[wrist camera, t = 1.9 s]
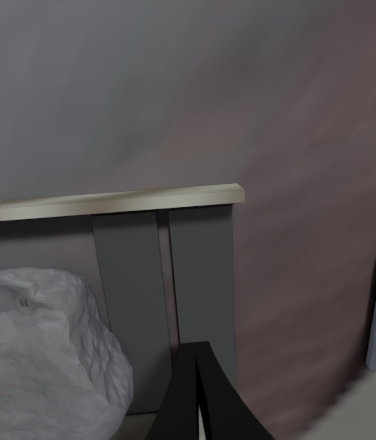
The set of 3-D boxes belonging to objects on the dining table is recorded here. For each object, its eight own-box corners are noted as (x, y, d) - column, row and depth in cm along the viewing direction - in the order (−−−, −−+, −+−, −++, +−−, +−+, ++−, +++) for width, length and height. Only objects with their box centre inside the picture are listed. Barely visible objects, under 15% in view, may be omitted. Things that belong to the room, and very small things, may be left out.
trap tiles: (230, 204, 14) (232, 206, 13) (234, 399, 17) (235, 403, 17) (92, 215, 13) (90, 216, 13) (127, 409, 17) (126, 414, 17)
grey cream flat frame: (236, 183, 13) (245, 190, 12) (239, 410, 18) (245, 437, 16) (-291, 222, 13) (-355, 235, 11) (-150, 448, 17) (-182, 479, 15)
